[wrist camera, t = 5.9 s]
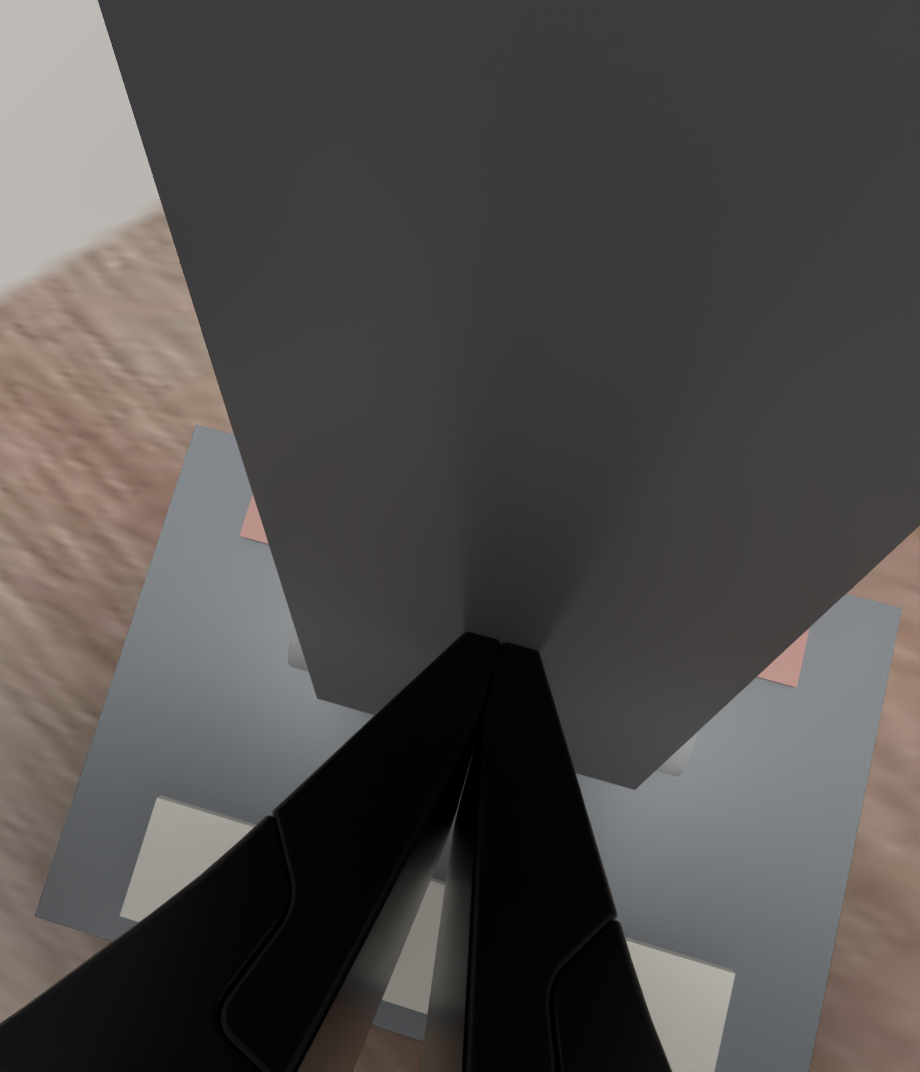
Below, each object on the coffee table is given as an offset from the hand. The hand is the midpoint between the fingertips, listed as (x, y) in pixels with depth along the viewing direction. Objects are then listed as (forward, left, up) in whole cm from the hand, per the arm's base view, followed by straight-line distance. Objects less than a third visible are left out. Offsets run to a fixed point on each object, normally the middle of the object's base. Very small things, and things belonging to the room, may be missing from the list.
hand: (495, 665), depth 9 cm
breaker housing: (-2, -1, -9) cm, 9 cm away
